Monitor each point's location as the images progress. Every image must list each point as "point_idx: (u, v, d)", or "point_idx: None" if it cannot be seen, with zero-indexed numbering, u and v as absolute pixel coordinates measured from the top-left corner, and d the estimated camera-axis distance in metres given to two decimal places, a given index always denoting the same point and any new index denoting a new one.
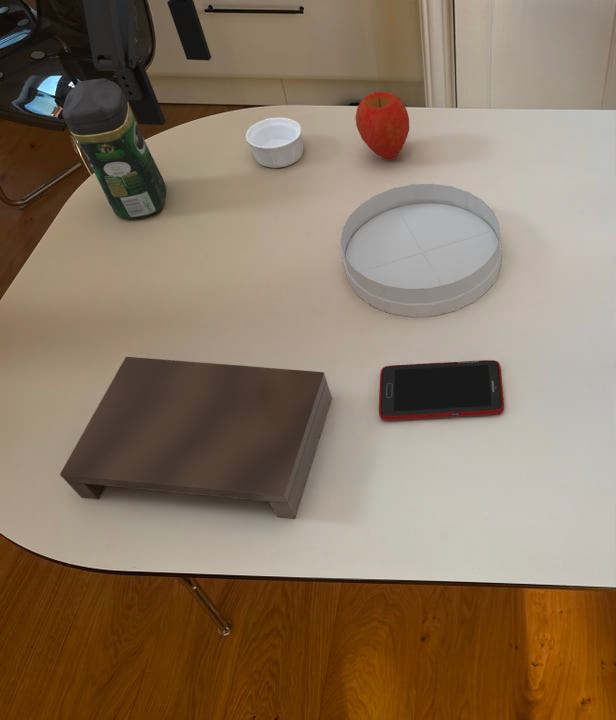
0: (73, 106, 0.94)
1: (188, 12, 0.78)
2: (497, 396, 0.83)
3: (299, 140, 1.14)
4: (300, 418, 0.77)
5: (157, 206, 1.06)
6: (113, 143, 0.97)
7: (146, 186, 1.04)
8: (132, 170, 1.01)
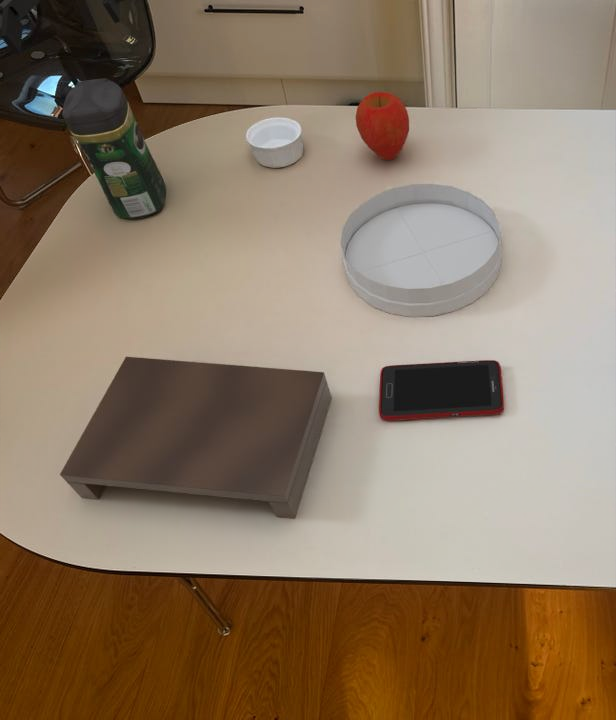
0: (73, 106, 0.94)
1: (19, 25, 0.95)
2: (497, 396, 0.83)
3: (299, 140, 1.14)
4: (300, 418, 0.77)
5: (157, 206, 1.06)
6: (113, 143, 0.97)
7: (146, 186, 1.04)
8: (132, 170, 1.01)
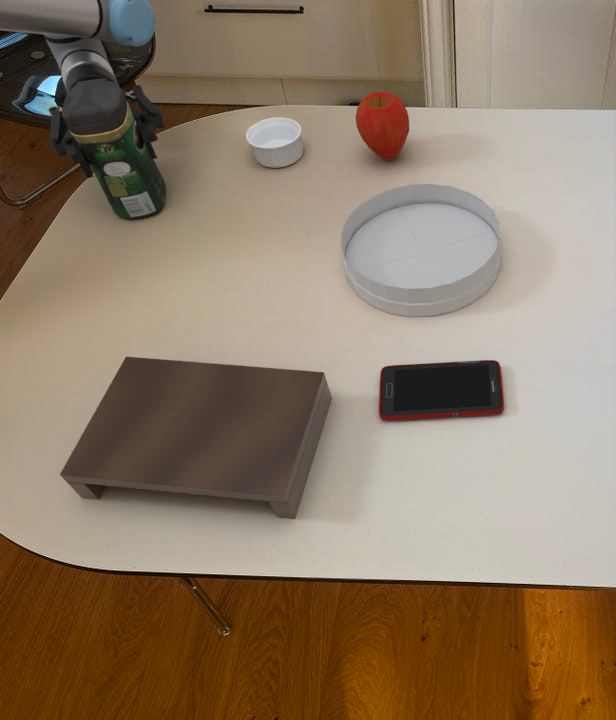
0: (73, 106, 0.94)
1: None
2: (497, 396, 0.83)
3: (299, 140, 1.14)
4: (300, 418, 0.77)
5: (157, 206, 1.06)
6: (113, 143, 0.97)
7: (146, 186, 1.04)
8: (131, 170, 1.01)
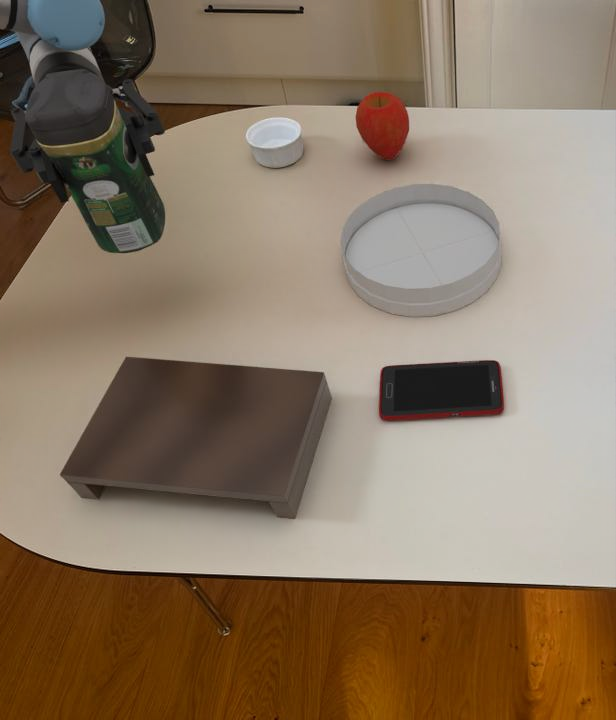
0: (39, 106, 0.69)
1: None
2: (497, 396, 0.83)
3: (299, 140, 1.14)
4: (300, 418, 0.77)
5: (154, 236, 0.82)
6: (95, 156, 0.72)
7: (140, 211, 0.79)
8: (120, 191, 0.76)
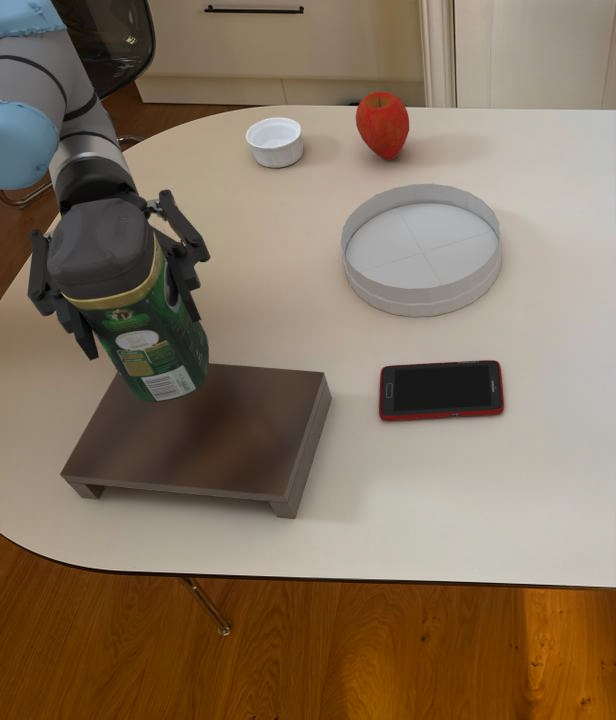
0: (65, 254, 0.56)
1: None
2: (497, 396, 0.83)
3: (299, 140, 1.14)
4: (300, 418, 0.77)
5: (198, 382, 0.68)
6: (132, 306, 0.59)
7: (182, 358, 0.66)
8: (160, 340, 0.63)
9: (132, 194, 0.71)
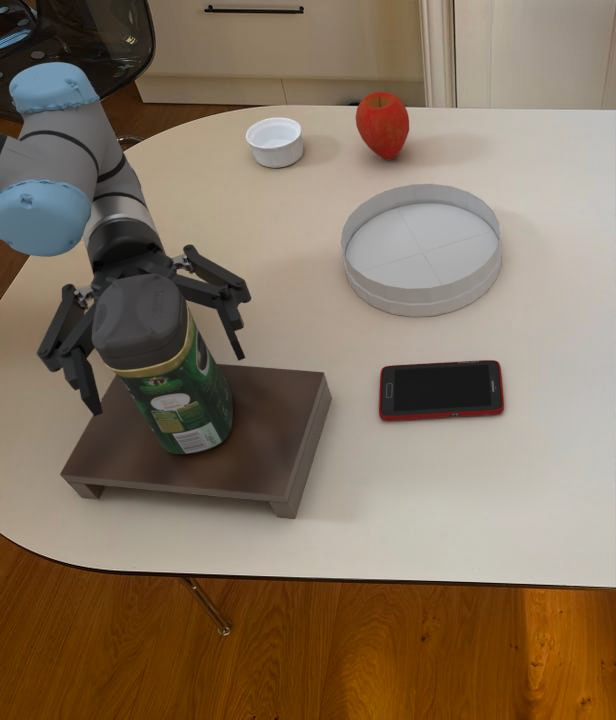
0: (109, 330, 0.61)
1: (90, 368, 0.68)
2: (497, 396, 0.83)
3: (299, 140, 1.14)
4: (300, 418, 0.77)
5: (223, 435, 0.74)
6: (168, 374, 0.64)
7: (210, 416, 0.71)
8: (191, 401, 0.68)
9: (159, 254, 0.76)
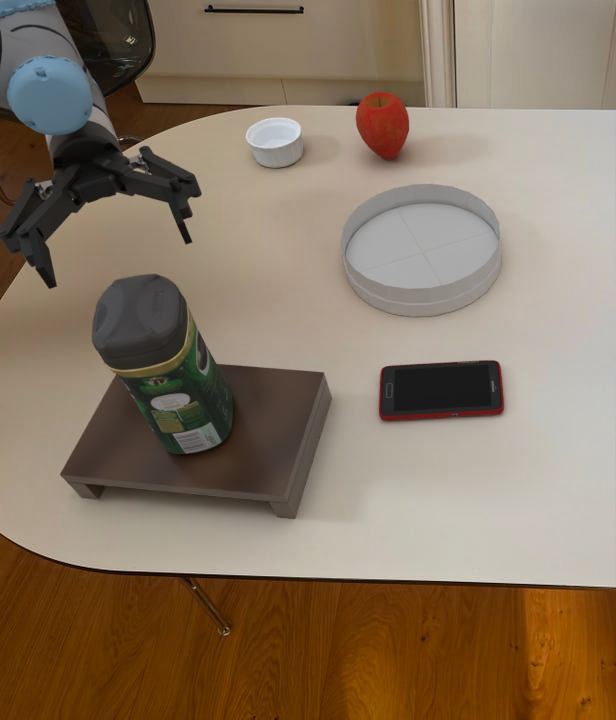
0: (109, 330, 0.61)
1: (47, 249, 0.73)
2: (497, 396, 0.83)
3: (299, 140, 1.14)
4: (300, 418, 0.77)
5: (223, 435, 0.74)
6: (168, 374, 0.64)
7: (210, 416, 0.71)
8: (191, 401, 0.68)
9: (117, 153, 0.81)
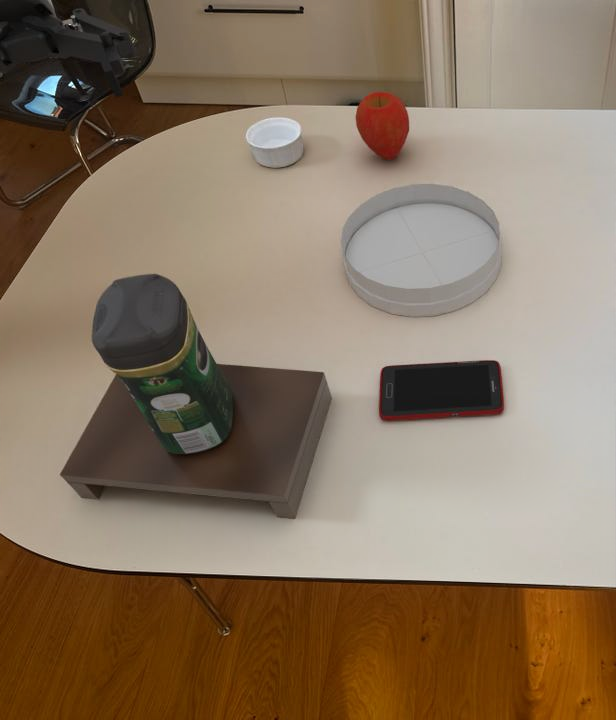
0: (109, 330, 0.61)
1: None
2: (497, 396, 0.83)
3: (299, 140, 1.14)
4: (300, 418, 0.77)
5: (223, 435, 0.74)
6: (168, 374, 0.64)
7: (210, 416, 0.71)
8: (191, 401, 0.68)
9: (49, 15, 0.77)
